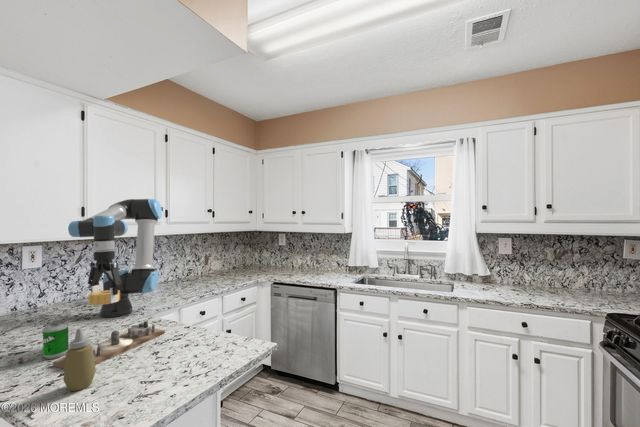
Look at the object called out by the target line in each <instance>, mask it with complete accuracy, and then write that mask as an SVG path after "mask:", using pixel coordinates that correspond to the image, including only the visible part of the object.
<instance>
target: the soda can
mask: <svg viewBox="0 0 640 427" xmlns="http://www.w3.org/2000/svg"><path fill="white" fill-rule="evenodd" d="M69 349H70V344H69V324H68V323H66V322H65V321H58V322H52V323H49V324H47V325H45V327H44V328H42V357H43V358H45V359H46V360H53V359H58V358H60V357H63V356H66V352H67V351H68V350H69Z"/></svg>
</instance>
